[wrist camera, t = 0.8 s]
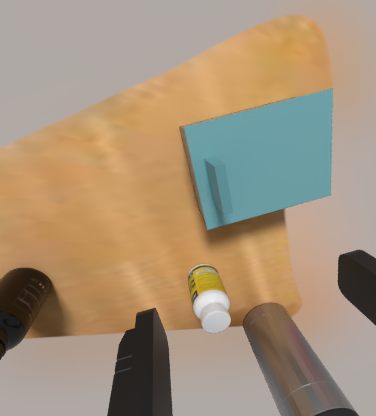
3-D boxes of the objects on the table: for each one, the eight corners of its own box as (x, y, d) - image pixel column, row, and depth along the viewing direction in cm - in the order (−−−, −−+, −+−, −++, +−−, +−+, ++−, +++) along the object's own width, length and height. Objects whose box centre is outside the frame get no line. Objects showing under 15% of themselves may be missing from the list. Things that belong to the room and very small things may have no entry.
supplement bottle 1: (19, 306, 36) (-40, 389, 25) (-7, 274, 33) (-86, 351, 22) (61, 293, 36) (19, 369, 25) (38, 259, 33) (-19, 328, 22)
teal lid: (319, 90, 25) (370, 81, 19) (320, 190, 30) (360, 208, 24) (181, 126, 25) (190, 129, 19) (204, 223, 30) (216, 249, 24)
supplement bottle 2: (185, 265, 37) (195, 311, 28) (217, 260, 38) (236, 303, 29) (188, 290, 40) (198, 340, 30) (218, 285, 40) (236, 333, 31)
